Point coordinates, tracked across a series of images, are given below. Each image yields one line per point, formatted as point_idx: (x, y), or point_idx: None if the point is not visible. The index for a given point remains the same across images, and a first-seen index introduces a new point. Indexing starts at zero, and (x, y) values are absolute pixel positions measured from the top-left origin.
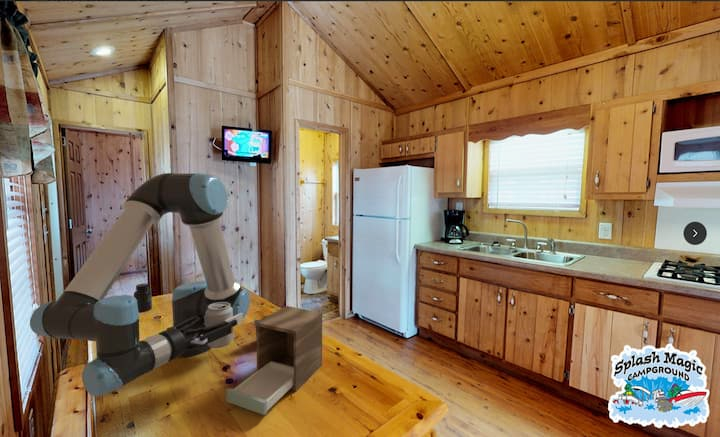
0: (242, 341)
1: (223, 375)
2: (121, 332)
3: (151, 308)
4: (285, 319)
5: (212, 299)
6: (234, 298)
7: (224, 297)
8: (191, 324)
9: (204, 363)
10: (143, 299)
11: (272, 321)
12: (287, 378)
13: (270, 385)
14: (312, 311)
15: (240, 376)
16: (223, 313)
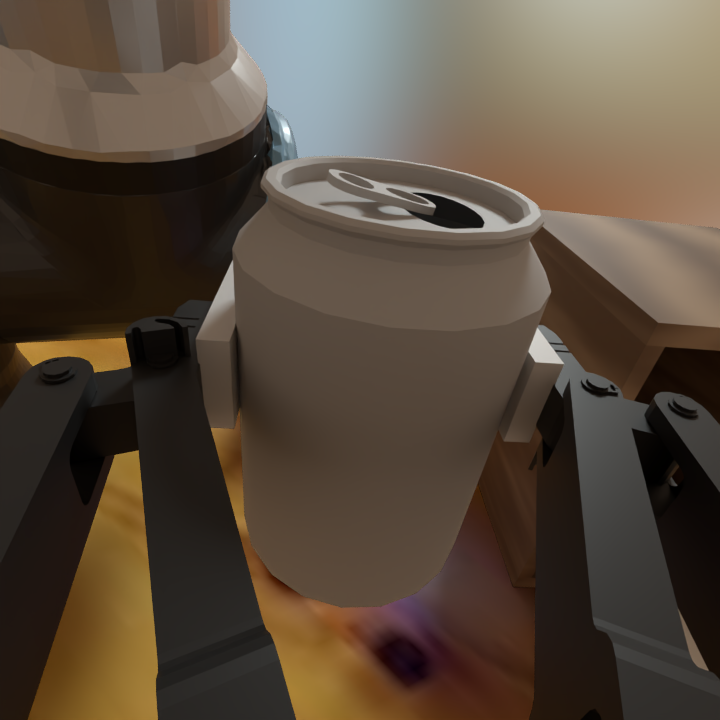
0: None
1: (329, 631)
2: None
3: None
4: (712, 276)
5: (99, 157)
6: (258, 160)
7: (214, 140)
8: (207, 584)
9: (129, 582)
10: None
11: (704, 299)
12: None
13: (686, 628)
14: (675, 225)
15: (419, 598)
16: (545, 282)
